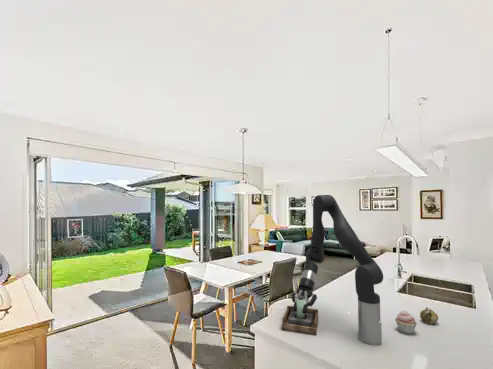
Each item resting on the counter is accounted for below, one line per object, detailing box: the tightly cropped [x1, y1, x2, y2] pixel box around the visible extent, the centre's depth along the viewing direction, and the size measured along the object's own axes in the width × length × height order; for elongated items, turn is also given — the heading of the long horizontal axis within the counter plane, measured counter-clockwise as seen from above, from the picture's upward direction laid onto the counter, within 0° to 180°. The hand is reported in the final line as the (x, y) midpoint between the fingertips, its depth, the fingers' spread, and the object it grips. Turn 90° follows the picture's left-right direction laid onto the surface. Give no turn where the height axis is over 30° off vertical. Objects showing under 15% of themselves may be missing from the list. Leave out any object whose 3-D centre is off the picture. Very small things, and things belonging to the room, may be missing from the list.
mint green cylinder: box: [297, 294, 305, 319], centre depth 136 cm, size 4×4×12 cm
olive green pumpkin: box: [419, 307, 439, 325], centre depth 141 cm, size 8×8×8 cm
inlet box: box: [281, 305, 319, 336], centre depth 135 cm, size 16×16×6 cm
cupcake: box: [394, 309, 418, 335], centre depth 131 cm, size 9×9×10 cm
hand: (299, 311), depth 134 cm, fingers closed on mint green cylinder, 4 cm apart
